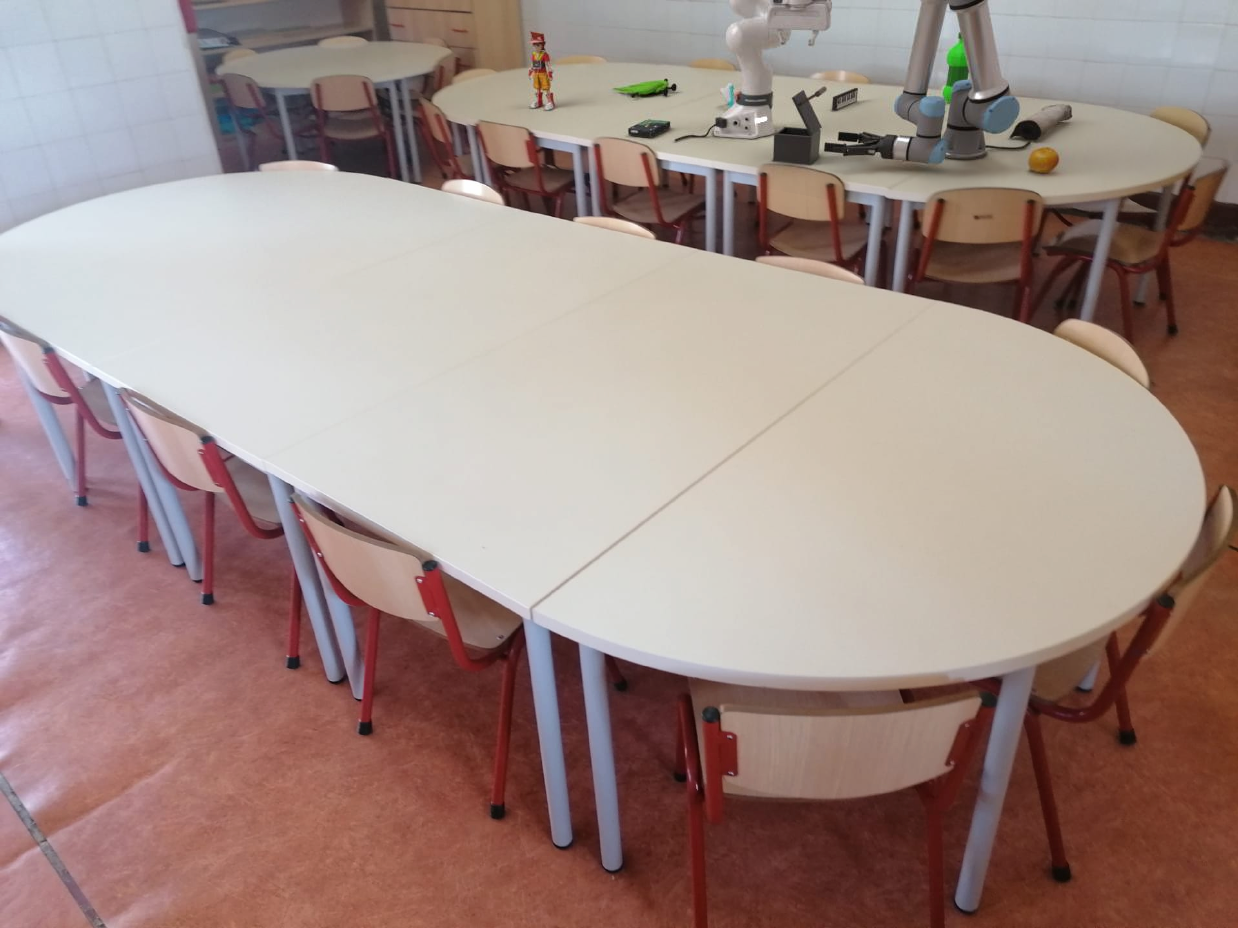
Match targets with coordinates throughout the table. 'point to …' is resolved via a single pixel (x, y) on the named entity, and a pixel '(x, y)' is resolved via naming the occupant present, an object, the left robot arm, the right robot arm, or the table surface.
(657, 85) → the toy
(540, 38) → the toy
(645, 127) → the disk drive
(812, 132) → the lid
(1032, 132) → the rolled mat
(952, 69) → the plastic bottle
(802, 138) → the chest
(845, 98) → the midi keyboard
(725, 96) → the anatomical model
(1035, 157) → the fruit
